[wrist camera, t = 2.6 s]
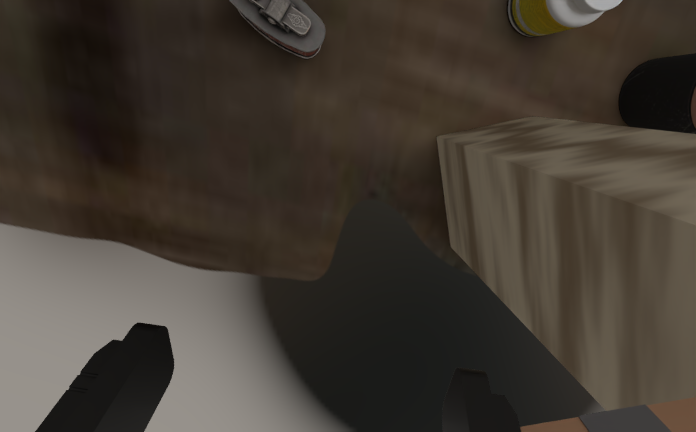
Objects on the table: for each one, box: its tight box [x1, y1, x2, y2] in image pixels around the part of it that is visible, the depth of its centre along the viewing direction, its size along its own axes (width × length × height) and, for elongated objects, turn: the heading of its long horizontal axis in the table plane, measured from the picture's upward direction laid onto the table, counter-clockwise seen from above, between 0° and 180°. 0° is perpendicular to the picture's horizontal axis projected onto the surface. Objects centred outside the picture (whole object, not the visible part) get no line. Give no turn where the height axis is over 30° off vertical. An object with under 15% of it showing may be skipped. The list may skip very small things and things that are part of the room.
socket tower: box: [437, 116, 696, 411], centre depth 26 cm, size 10×12×37 cm
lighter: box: [229, 0, 325, 59], centre depth 33 cm, size 8×3×10 cm, turn 57°
